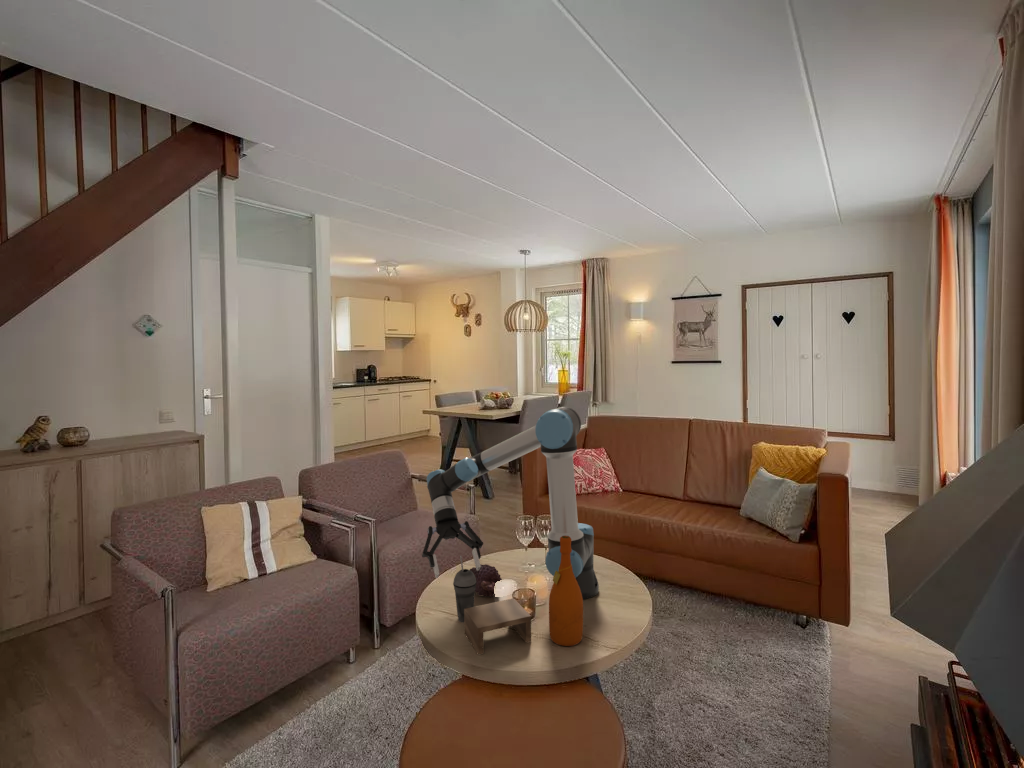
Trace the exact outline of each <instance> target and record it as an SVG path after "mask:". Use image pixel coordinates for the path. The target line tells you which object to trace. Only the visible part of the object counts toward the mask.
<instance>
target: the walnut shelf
mask: <svg viewBox="0 0 1024 768" xmlns="http://www.w3.org/2000/svg"><path fill="white" fill-rule="evenodd" d="M463 625H464V628H463V629H464V630H463V631H464V635H465V637H466V636H467V637H466V639H467V640H468V641H469V643H470V644H471V647H473V649H474V650H476V651H477V652H476V651H475V652H476V654H477V653H478V654H481V655H484V654H483V653H484V652H485V651H484V633H487V632H490V631H494V630H495V631H496V630H499V629H503V628H507V627H512V628H513V629H514V630H515V631H516V632H517V634H519V636H520V637H521V639H522V640H523V641H524V642H525V643H527V644H528V643H530V642H532V615H531V614H530V613H529V612H528V611H527V610H526V609H525V608H524V607H523V606H522V605H521V604H520V603H519V602H518V601H517V600H516V598H509V599H504V600H499V601H495V602H489V603H485V604H480V605H476V606H475V605H474V607H471V608H466V609H464V623H463ZM478 654H477V655H478Z"/></svg>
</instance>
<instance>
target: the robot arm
mask: <svg viewBox="0 0 1024 768" xmlns="http://www.w3.org/2000/svg"><path fill="white" fill-rule="evenodd" d="M581 428H582V420H581V417H580V415H579V413H578V412H577V411H576V410H575V409H573V408H571V407H568V406H559V407H556V408H553V409H549V410H547V411H545V412H544V413H543V414H542V415H541V416H540V417H539V418H538V419H537V422H536V423H535V425H534V426H532V427H530V428H528V429H526V430H524V431H522V432H520V433H517V434H516V435H513V436H512V437H510V438H507V439H506V440H503V441H502V442H499V443H498V444H495V445H493V446H491V447H489V448H487V449H485V450H483V451H481V452H479V453H477V454H475V455H473V456H471V457H464V458H462V459H460V460H459V461H457V463H455V464H454V465H451V467H449V468H448V469H447V470H444V469H435V470H432V471H430V472H429V473H428V474H427V476H426V485H427V486H426V487H427V491H428V494H429V497H430V504H431V507H432V514H433V517H434V522H435V523H434V524H435V526H434V527H432V525H431V526H428V528H427V538H426V541H425V544H424V548H423V550H422V554H421V557H422V558H427V559H428V562H429V567H430V568H433V572H434V576H435V579H438V578H439V577H440V570H439V565H438V560H437V556H436V554H435V552H436V551H437V548H438V547H439V545H440V544H441V542H442V541H443V539H444V540H446V541H447V540H449V539H451V540H453V539H455V538H456V539H457V540H460V541H461V542H463V543H464V544H465V545H466V546H468V547H469V548H470V549H472V551H471V554H472V557H473V562H474V565H475V568H476V570H477V571H478V570H479V569H480V568H481V565H482V564H481V562H480V559H481V557H482V555H481V551H480V549H482V547H483V545H484V541H483V540H482V539H481V538H480V537H479V536H478V534H476V532H475V531H474V530H473V529H472V527H471V526H470V523H469V522H468V520H467V521H464V522H463V523H460V522H459V519H458V513H457V510H456V506H455V502H454V498H453V494H452V493H453V492H455V491H457V489H459V488H460V487H462V486H464V485H466V484H467V483H468V482H471V481H472V480H473V481H474V480H475V479H476V478H479V477H481V476H483V475H484V474H486V473H488V472H491V471H493V470H495V469H497V468H499V467H501V466H503V465H506V464H508V463H509V462H511V461H514V460H516V459H519V458H520V457H522V456H525V455H527V454H528V453H529V454H530V453H531V452H533V451H535V450H537V449H540V452H541V453H542V455H543V456H545V458H546V461H545V462H546V470H547V471H546V472H547V484H548V497H549V499H548V500H549V513H550V523H551V525H550V526H551V530H550V531H549V533H548V534H547V545H548V551H547V552H546V555H545V561H544V562H545V567H546V569H547V572H549V574H550V575H552V576H553V577H554V574H555V571H559V566H560V563H561V553H560V537H562V536H569V537H570V538H571V549H572V552H571V553H570V559H571V564H572V569H573V573H574V576H575V578H576V580H577V583H578V585H579V588H580V590H581V594H582V598H583V600H586V599H591V598H593V597H595V596H596V595H598V594H599V590H600V589H599V587H600V586H599V585H600V584H599V580H598V578H597V575H596V572H595V571H596V570H595V569H594V536H595V534H594V528H593V526H592V525H589V524H587V523H580V522H579V520H578V507H577V496H576V495H577V494H576V480H575V468H574V466H575V465H574V454H575V453H577V451H578V442H577V436H578V435H579V433H580V431H581ZM461 529H462V530H463V531H464V532H465V533H464V532H463V531H462V530H461ZM435 533H437V535H438V537H437V539H436V541H435V542H434V544H433V545H432V547H431V549H430V550H429V546H430V543H431V541H432V538H433V535H434V534H435ZM428 550H429V551H428ZM480 564H481V565H480Z"/></svg>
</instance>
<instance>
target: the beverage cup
mask: <svg viewBox="0 0 1024 768" xmlns="http://www.w3.org/2000/svg"><path fill="white" fill-rule="evenodd" d="M459 557H460V558H459V559H460V566H461V570H459V571H457V573H456V574H455V575H454V577H453V583H452V585H453V588H454V589H453V590H454V593H455V604H456V614H457V621H458V622H460V623H463V624H464V609H466V608H471V607H475V594H476V592H475V588H476V583H477V582H476V578H475V575H474V574H473V572H472V571H470V569H466V568H464V565H463V556H462V555H460V556H459Z"/></svg>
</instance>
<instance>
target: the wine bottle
mask: <svg viewBox="0 0 1024 768" xmlns="http://www.w3.org/2000/svg"><path fill="white" fill-rule="evenodd" d="M571 552H572V549H571V538H570V537H569V536H562V537H560V553H561V563H560V566H559V571H555V574H554V576H553V578H552V581H553V583H552V586H551V589H550V592H549V593H550V594H549V597H548V598H549V599H548V627H549V629H548V631H549V637H550V640H551V641H552V642H553V643H554V644H556V645H558V646H562V647H572V646H576V645H578V644H579V643H580V642H581V641H582V640H583V636H584V630H583V629H584V599H583V598H582V594H581V590H580V588H579V585H578V583H577V580H576V578H575V576H574V573H573V569H572V564H571V559H570V553H571Z"/></svg>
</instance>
